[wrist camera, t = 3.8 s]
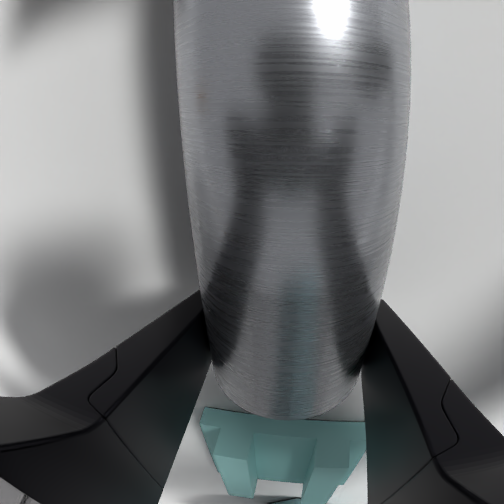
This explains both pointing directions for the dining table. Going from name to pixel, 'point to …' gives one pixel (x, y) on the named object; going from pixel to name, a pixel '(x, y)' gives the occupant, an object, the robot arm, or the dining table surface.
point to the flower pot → (290, 501)
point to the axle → (292, 186)
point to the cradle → (282, 452)
